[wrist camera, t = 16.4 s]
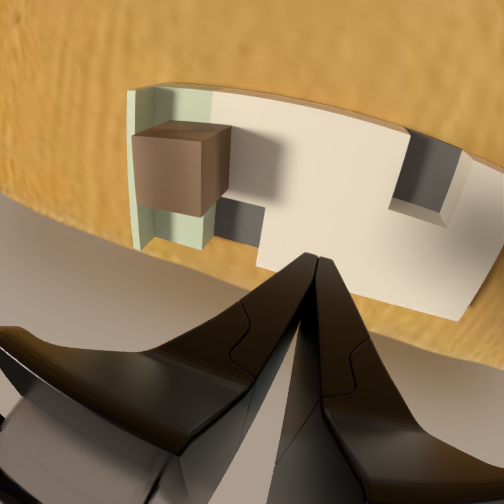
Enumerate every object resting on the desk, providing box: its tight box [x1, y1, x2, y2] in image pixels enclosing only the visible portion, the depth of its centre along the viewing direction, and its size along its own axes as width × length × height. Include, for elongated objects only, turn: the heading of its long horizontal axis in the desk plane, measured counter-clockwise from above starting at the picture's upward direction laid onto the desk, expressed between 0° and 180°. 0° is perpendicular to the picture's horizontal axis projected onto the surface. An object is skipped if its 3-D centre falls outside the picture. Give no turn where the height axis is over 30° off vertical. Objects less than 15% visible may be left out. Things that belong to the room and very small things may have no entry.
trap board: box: [127, 82, 504, 322], centre depth 18 cm, size 24×11×4 cm, turn 83°
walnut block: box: [131, 120, 232, 218], centre depth 17 cm, size 4×4×4 cm
